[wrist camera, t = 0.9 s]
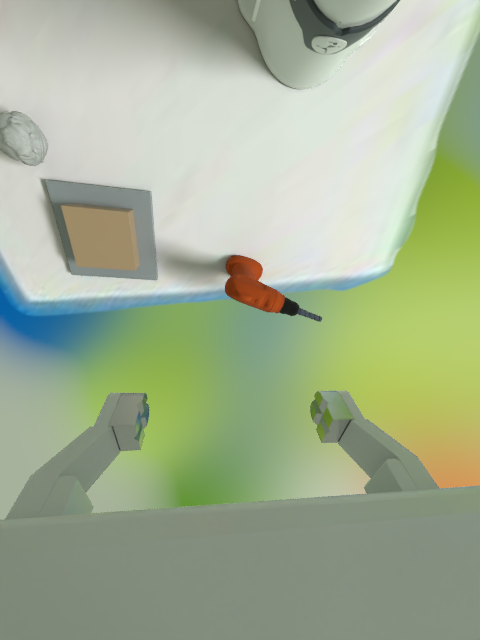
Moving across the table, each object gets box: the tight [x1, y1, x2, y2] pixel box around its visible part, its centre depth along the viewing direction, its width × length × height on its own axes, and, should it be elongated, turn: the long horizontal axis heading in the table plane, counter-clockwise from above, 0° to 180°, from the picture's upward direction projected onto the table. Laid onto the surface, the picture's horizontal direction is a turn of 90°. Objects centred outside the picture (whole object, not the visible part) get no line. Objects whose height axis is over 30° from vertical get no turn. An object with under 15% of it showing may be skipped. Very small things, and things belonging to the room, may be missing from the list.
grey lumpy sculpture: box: [0, 111, 48, 166], centre depth 33 cm, size 6×7×7 cm
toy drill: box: [225, 256, 322, 321], centre depth 45 cm, size 5×19×15 cm, turn 68°
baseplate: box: [45, 180, 158, 280], centre depth 42 cm, size 16×16×4 cm
